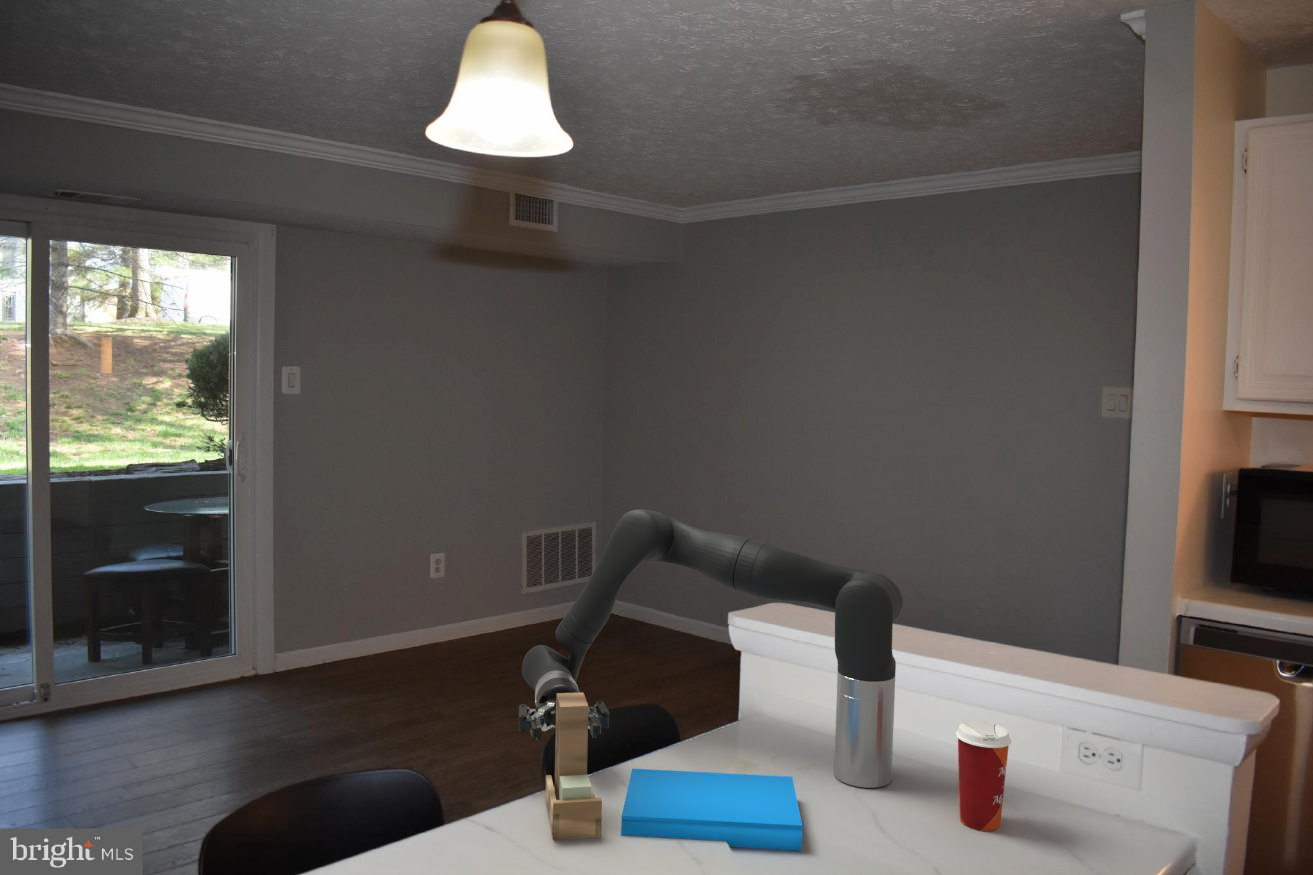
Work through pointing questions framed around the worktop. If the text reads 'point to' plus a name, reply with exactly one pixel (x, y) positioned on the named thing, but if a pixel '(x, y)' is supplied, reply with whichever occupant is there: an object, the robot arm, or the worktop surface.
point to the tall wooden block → (570, 736)
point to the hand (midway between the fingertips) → (567, 733)
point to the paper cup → (981, 773)
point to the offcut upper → (574, 787)
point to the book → (714, 808)
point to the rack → (573, 815)
